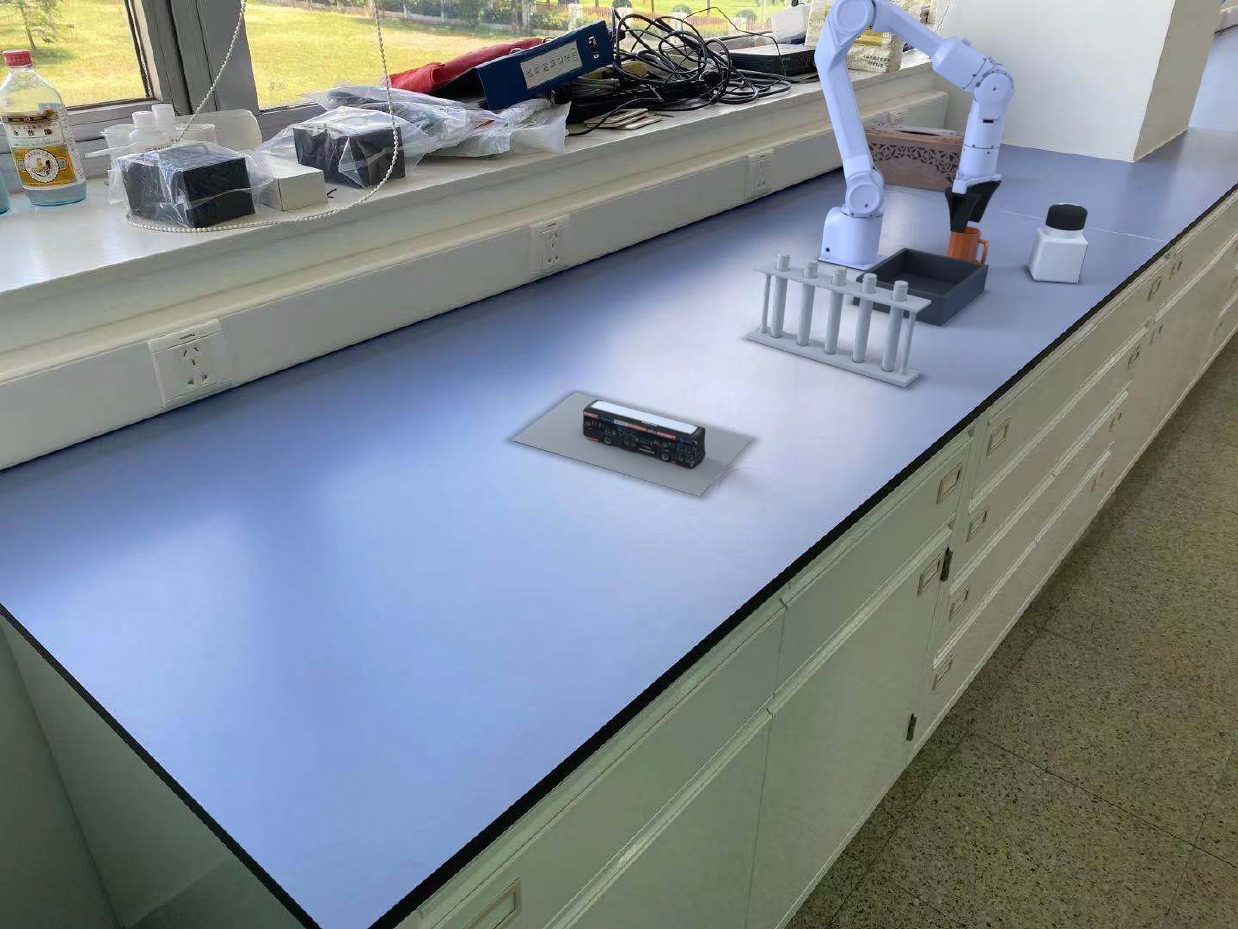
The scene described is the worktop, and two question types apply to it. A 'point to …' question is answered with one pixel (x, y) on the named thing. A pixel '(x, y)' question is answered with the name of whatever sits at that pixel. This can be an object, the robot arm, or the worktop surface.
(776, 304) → the test tube rack
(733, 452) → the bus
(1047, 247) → the medicine bottle
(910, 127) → the tissue box cover
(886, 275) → the bin
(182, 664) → the worktop surface
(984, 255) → the cup
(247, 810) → the worktop surface
